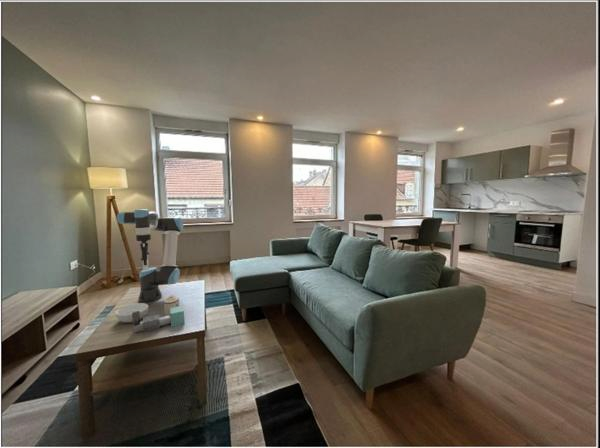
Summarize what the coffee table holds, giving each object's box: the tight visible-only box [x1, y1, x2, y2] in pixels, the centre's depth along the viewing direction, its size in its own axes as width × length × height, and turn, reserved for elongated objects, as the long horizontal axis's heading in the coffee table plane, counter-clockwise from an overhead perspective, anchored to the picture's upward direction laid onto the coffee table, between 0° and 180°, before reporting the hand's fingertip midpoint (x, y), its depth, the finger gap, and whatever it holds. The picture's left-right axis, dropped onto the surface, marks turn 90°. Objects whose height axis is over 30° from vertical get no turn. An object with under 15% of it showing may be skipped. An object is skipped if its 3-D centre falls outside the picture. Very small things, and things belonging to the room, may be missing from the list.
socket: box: [170, 305, 185, 328], centre depth 147 cm, size 9×7×8 cm
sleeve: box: [142, 313, 161, 334], centre depth 140 cm, size 7×8×6 cm
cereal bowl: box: [115, 302, 149, 323], centre depth 151 cm, size 17×17×7 cm
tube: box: [132, 311, 171, 333], centre depth 141 cm, size 4×23×10 cm, turn 121°
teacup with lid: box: [163, 294, 180, 316], centre depth 161 cm, size 12×9×12 cm
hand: (146, 267), depth 151 cm, fingers open, 13 cm apart
